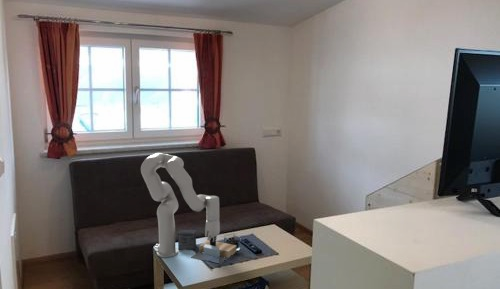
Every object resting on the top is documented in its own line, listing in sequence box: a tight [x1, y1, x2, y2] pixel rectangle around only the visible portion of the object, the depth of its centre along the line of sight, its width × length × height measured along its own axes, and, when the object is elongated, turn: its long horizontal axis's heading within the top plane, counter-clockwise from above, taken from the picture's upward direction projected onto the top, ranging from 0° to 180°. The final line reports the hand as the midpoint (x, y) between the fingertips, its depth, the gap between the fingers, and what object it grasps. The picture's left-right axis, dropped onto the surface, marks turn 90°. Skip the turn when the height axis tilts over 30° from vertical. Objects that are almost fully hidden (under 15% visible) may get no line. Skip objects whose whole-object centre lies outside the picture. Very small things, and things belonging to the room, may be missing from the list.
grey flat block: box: [203, 244, 220, 258], centre depth 228 cm, size 9×6×2 cm
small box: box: [177, 229, 197, 251], centre depth 240 cm, size 11×6×10 cm, turn 92°
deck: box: [198, 240, 237, 259], centre depth 235 cm, size 20×10×4 cm, turn 65°
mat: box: [190, 250, 229, 265], centre depth 227 cm, size 20×9×1 cm, turn 65°
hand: (213, 247), depth 230 cm, fingers closed
